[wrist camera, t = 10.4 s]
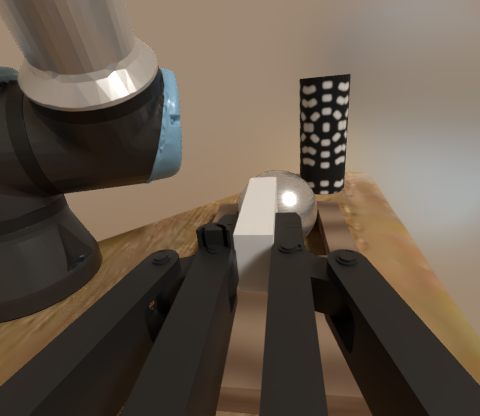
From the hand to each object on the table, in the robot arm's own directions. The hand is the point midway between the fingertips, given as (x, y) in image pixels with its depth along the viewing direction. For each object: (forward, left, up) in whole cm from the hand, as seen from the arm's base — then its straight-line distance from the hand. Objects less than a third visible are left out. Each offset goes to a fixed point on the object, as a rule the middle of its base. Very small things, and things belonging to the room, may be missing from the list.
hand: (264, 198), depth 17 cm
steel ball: (-12, +13, -9) cm, 20 cm away
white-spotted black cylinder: (-22, +34, -14) cm, 42 cm away
